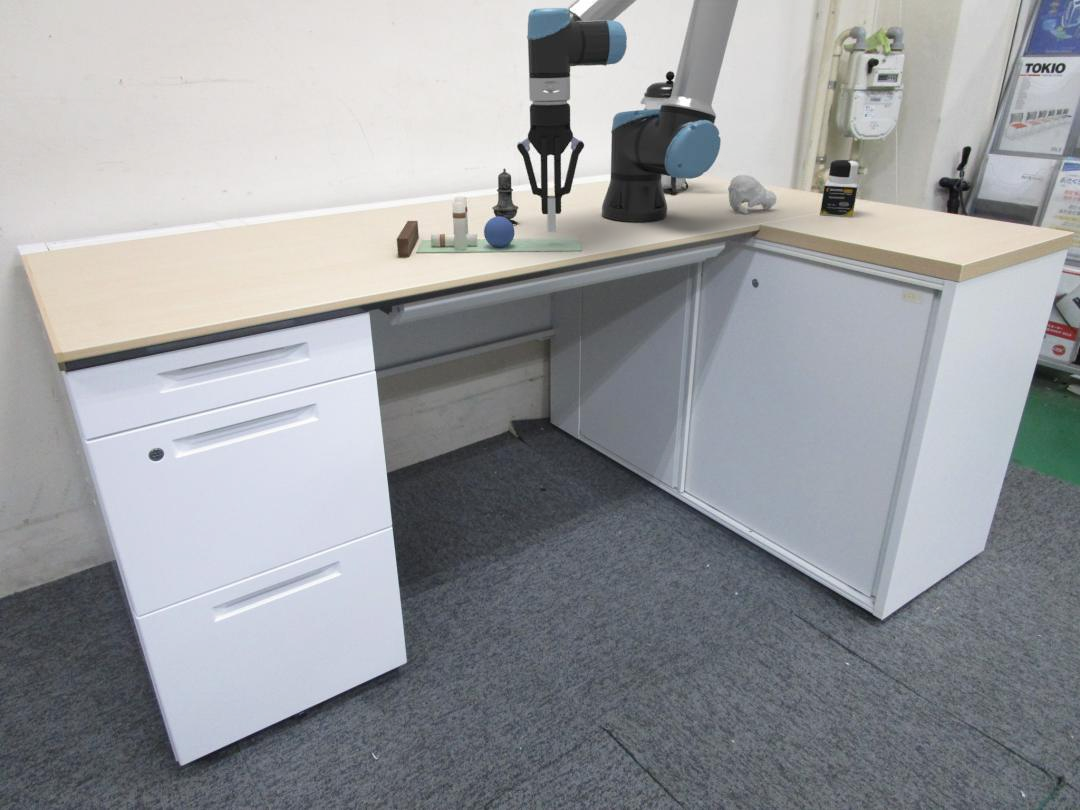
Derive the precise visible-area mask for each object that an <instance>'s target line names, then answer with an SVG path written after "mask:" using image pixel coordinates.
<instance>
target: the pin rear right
mask: <svg viewBox="0 0 1080 810" xmlns="http://www.w3.org/2000/svg"><path fill="white" fill-rule="evenodd" d="M467 199H468V198H467V197H466V196H456V197H455V196H454V202H465V212H466V234H469V227H468V226H469V225H468V224H469V222H468V201H467Z"/></svg>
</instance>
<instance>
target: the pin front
mask: <svg viewBox="0 0 1080 810" xmlns="http://www.w3.org/2000/svg"><path fill="white" fill-rule="evenodd" d="M466 237H467V246H477V239H478V234H477V233H468V234H466ZM430 240H431V246H432V247H455V243H454V233H453V234H445V233H444V234H443V233H442V234H441V233H440V234H431V235H430Z"/></svg>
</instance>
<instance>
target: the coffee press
mask: <svg viewBox="0 0 1080 810" xmlns="http://www.w3.org/2000/svg"><path fill="white" fill-rule="evenodd" d="M665 77H666V81H664V82H663V81H662V82H653V83H651V84H650V85H649V86H647V88H646V91H645V92H644V93H643V94H644V95H643V97H642V99H641V100H640V105H644V109H643V110H649V109H660V108H661V104H662V103H664V102H665V101H667V100H668V99H669V98H670V97H671V94H672V89H673V85H674V80H675V73H674V71H672V70H671V71H668V72H666V74H665ZM686 179H687V178H675V177H672V176H668V175H663V174H662V177H661V183H662V187H663V189H666V190H668V191H669V195H670V196H675V195H678V194H677V193H678V188H681V189H683V190H688V189H689V184H688V181H687V180H686ZM684 185H685V187H684Z"/></svg>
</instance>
